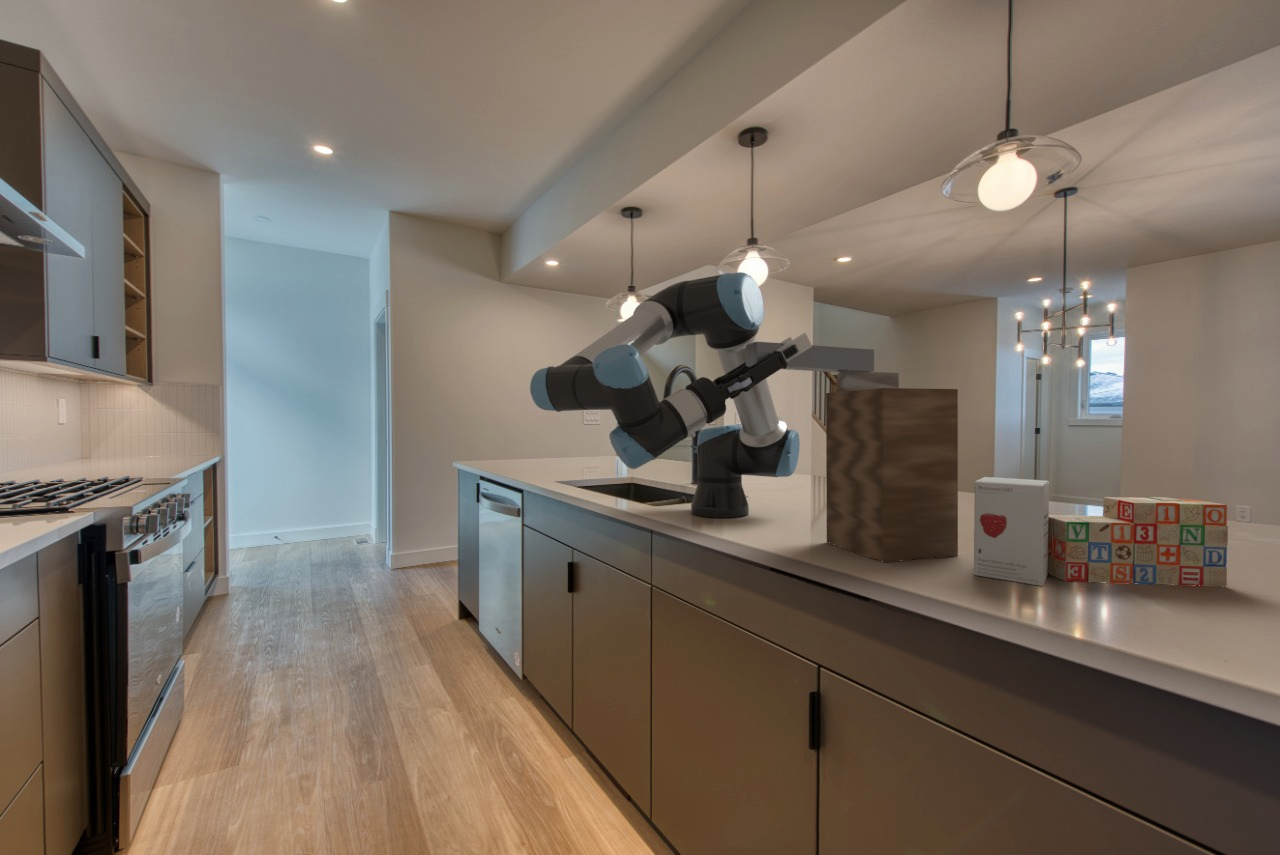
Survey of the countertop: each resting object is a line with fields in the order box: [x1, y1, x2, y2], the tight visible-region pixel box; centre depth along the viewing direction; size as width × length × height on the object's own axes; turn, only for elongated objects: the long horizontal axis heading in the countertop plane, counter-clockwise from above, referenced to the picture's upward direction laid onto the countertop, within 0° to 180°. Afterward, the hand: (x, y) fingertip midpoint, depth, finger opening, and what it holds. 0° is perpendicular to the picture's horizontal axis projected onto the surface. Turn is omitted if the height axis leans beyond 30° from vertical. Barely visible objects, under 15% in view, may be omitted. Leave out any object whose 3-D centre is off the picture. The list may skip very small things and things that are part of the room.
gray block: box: [746, 341, 875, 373], centre depth 96 cm, size 4×24×4 cm, turn 106°
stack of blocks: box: [1048, 496, 1229, 587], centre depth 81 cm, size 21×6×12 cm, turn 82°
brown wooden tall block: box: [825, 371, 959, 563], centre depth 101 cm, size 16×16×34 cm
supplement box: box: [973, 476, 1050, 587], centre depth 83 cm, size 9×9×15 cm
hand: (799, 342), depth 95 cm, fingers closed on gray block, 4 cm apart
